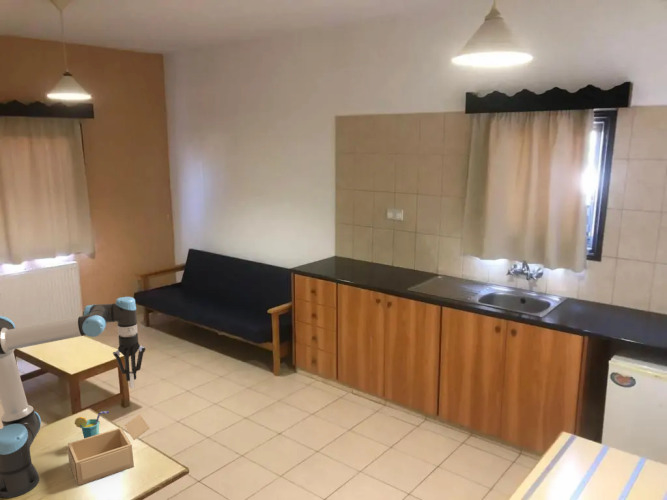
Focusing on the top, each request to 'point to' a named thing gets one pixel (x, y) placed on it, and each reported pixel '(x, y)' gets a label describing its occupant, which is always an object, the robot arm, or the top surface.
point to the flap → (137, 427)
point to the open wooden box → (100, 456)
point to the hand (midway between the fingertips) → (131, 387)
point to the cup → (89, 425)
